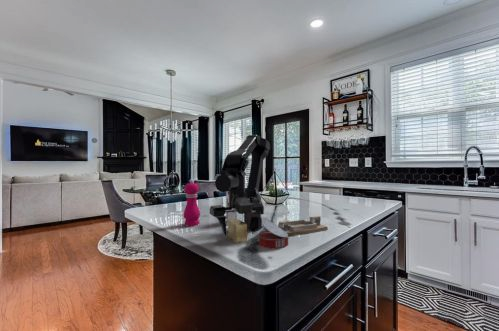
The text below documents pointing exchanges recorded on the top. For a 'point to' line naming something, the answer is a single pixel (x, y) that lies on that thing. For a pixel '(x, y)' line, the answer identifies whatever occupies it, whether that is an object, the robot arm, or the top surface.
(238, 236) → the block
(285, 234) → the canned food
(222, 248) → the top surface
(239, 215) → the syrup box
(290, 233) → the shaft board
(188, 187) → the pepper mill
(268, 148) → the robot arm
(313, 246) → the top surface
